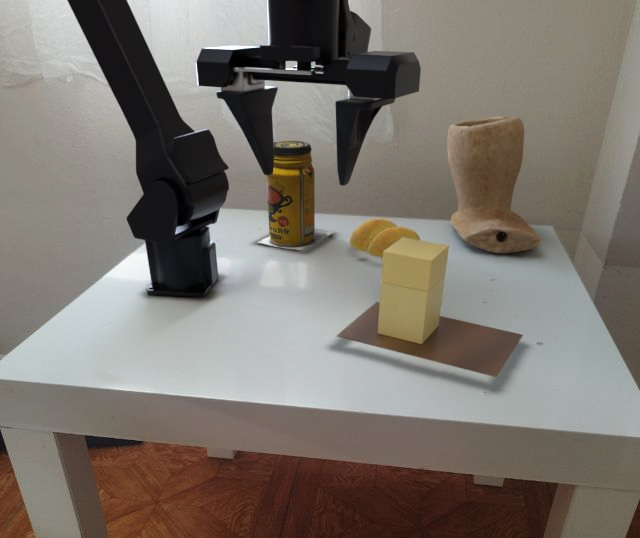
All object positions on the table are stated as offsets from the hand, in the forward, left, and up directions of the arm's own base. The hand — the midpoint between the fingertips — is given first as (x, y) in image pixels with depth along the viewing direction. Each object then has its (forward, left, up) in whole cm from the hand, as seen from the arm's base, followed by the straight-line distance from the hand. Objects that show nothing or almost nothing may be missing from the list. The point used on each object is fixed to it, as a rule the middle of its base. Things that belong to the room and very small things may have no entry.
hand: (305, 179), depth 56 cm
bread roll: (+7, +19, -13) cm, 24 cm away
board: (+12, -6, -13) cm, 19 cm away
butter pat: (+10, -5, -7) cm, 14 cm away
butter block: (+10, -5, -12) cm, 17 cm away
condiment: (-5, +23, -13) cm, 27 cm away
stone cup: (+20, +27, -13) cm, 36 cm away
